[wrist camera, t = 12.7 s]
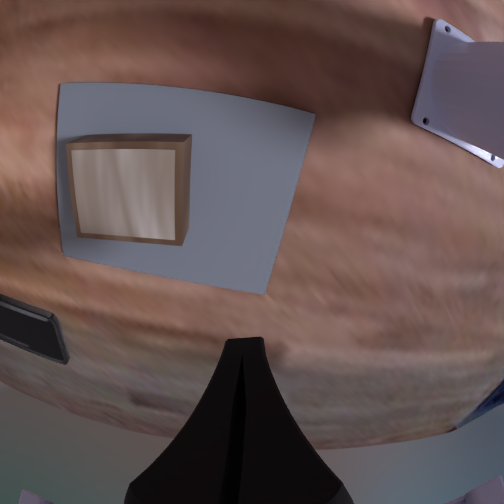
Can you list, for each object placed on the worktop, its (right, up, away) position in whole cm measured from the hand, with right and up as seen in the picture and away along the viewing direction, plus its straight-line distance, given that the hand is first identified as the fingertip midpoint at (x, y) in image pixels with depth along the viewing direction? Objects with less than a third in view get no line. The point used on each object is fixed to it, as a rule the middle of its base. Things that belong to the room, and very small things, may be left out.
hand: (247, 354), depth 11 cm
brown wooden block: (-3, +7, +6) cm, 10 cm away
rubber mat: (-5, +8, +7) cm, 12 cm away
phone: (-27, -4, +15) cm, 31 cm away
